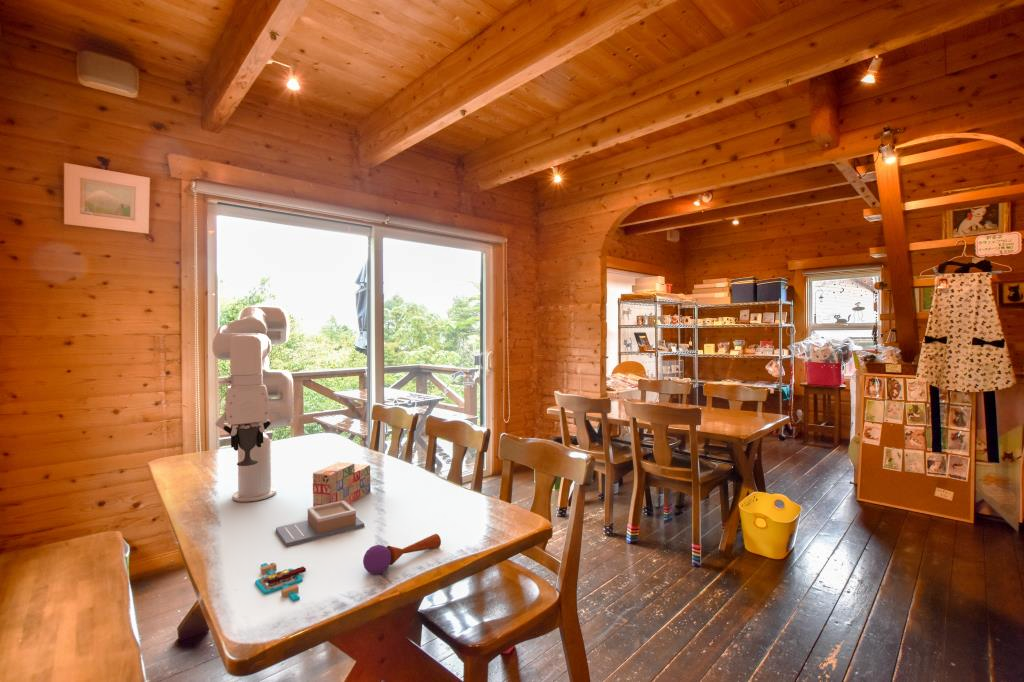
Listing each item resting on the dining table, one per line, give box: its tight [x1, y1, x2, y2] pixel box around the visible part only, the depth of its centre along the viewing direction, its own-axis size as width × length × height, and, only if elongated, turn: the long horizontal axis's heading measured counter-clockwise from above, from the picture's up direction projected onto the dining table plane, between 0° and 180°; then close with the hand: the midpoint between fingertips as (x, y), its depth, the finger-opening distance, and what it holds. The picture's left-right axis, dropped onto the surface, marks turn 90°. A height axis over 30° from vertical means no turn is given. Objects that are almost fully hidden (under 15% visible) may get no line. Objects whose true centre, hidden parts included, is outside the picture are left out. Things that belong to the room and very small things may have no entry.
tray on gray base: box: [275, 500, 365, 548], centre depth 130 cm, size 12×20×5 cm, turn 128°
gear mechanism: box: [254, 561, 307, 603], centre depth 103 cm, size 20×5×9 cm
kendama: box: [362, 533, 442, 575], centre depth 113 cm, size 6×6×20 cm
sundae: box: [235, 423, 260, 467], centre depth 128 cm, size 7×7×15 cm
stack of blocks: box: [312, 461, 371, 507], centre depth 152 cm, size 21×6×12 cm, turn 164°
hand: (247, 447), depth 129 cm, fingers closed on sundae, 4 cm apart
